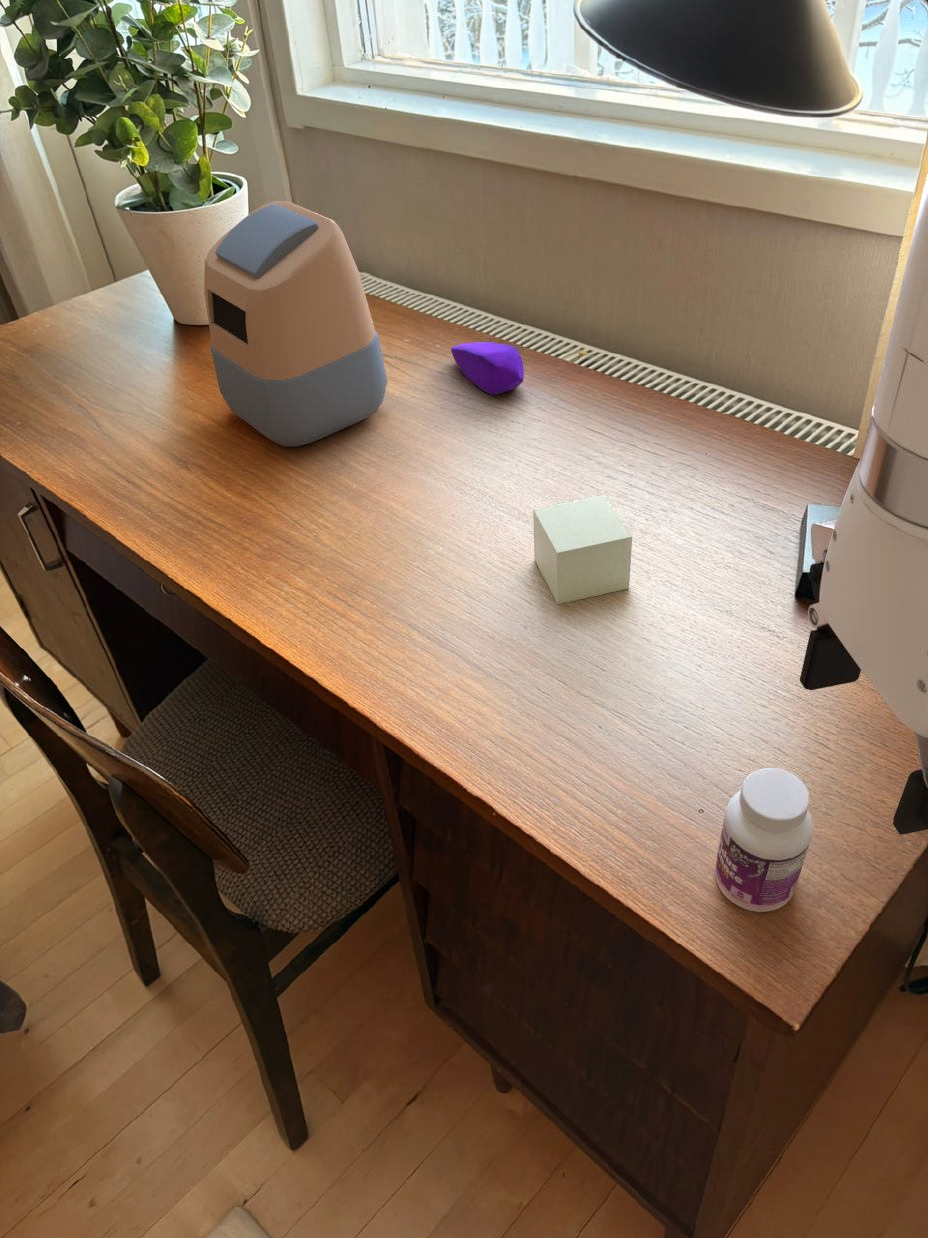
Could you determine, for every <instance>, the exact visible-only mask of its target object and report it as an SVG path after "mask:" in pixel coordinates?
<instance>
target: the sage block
mask: <svg viewBox="0 0 928 1238" xmlns="http://www.w3.org/2000/svg"><path fill="white" fill-rule="evenodd" d="M532 519H533V520H532V521H533V556H534V557H533V558H534V562H535V564H536V566H537V567H538V569H539V572H540V574H541V576H542V577H543V579H544V581H545V583H546V585H547V587H548V589H549V591H550V593H551V595H552V597H553V599H554V602H555V603H556V605H562V604H566V603H571V602H575V601H579V600H584V599H588V598H592V597H597V596H598V597H599V596H601V595H606V594H610V593H615V592H620V591H624V590H628V589H630V581H631V580H630V579H631V565H632V564H631V563H632V548H633V536H632V534H631V532H630V531H629V530H628V528H627V526H626V525H625V523H624V522H623V520H622V519H621V517H620V516H619V514H618V513H617V511H616V510H615V508H614V507H613V506H612V504H611V503H610V501H609V500H608V498H607V496H606V495H605V494H600V495H594V496H590V497H585V498H581V499H576V500H571V501H567V502H562V503H558V504H552V505H548V506H542V507H538V508H533V509H532Z"/></svg>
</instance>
